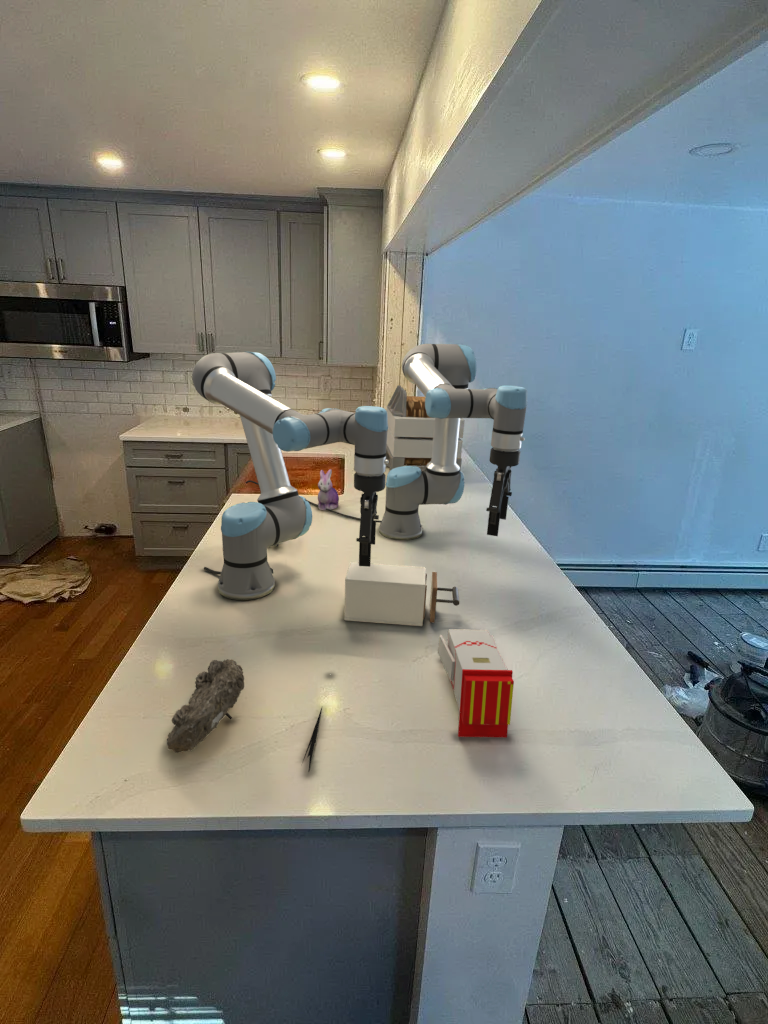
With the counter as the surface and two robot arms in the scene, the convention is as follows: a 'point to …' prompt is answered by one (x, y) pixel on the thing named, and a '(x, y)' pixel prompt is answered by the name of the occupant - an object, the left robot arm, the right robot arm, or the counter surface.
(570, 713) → the counter surface
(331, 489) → the figurine
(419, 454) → the transformer
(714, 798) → the counter surface
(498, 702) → the toy
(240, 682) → the fossil
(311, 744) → the feather
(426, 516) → the counter surface
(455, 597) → the drawer
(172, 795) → the counter surface
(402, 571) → the cabinet
